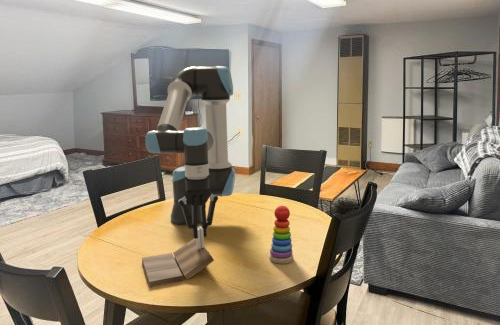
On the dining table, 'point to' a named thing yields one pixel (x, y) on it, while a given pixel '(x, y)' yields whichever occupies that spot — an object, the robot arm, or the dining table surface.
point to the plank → (192, 258)
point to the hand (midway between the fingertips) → (200, 246)
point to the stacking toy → (281, 237)
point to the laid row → (161, 270)
